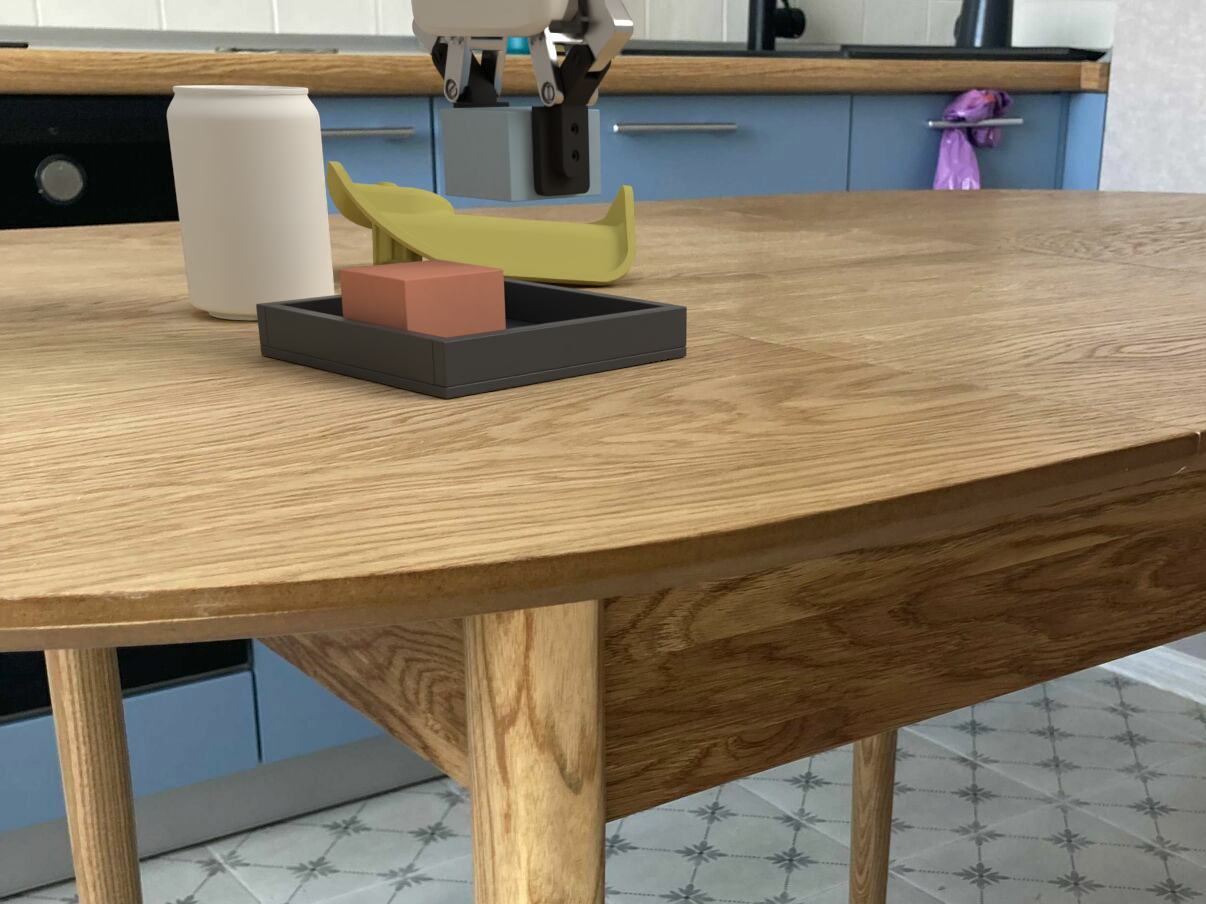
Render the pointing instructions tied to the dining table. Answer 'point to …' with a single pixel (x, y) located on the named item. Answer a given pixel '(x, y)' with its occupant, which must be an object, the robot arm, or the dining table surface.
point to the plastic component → (487, 234)
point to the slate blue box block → (501, 153)
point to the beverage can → (250, 196)
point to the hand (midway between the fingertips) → (523, 186)
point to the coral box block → (426, 297)
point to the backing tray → (480, 341)
